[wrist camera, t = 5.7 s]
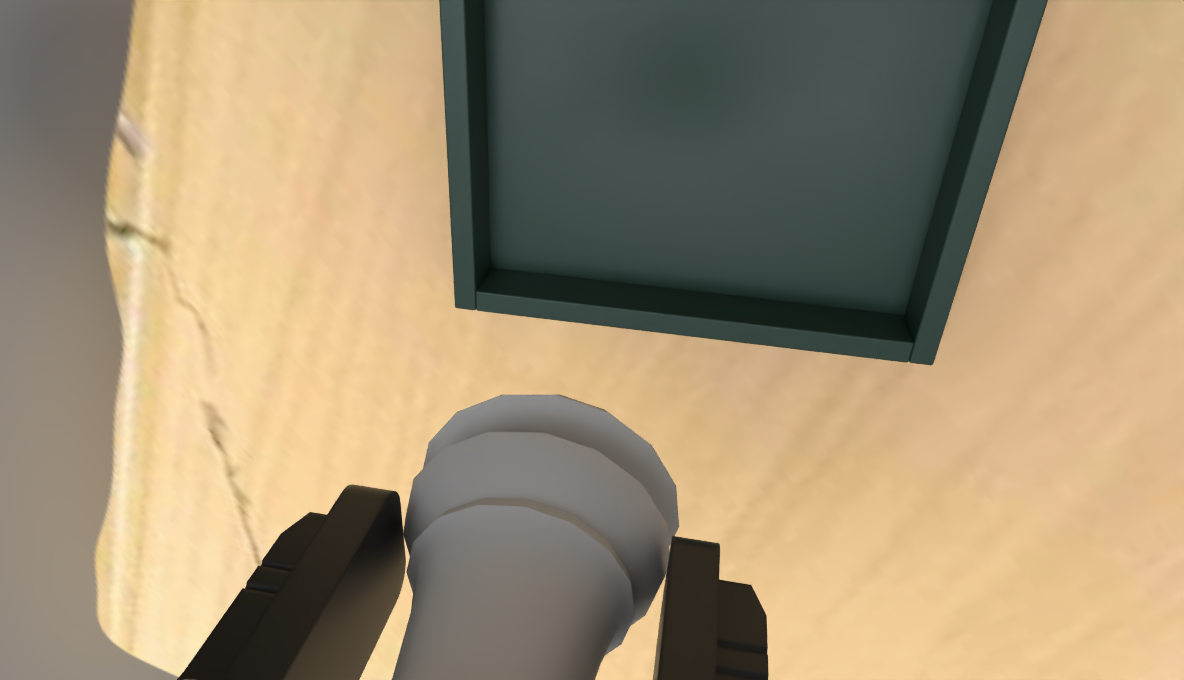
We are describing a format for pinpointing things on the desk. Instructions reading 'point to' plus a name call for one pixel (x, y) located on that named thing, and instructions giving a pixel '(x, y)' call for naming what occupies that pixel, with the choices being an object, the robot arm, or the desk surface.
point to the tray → (728, 162)
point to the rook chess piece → (532, 541)
